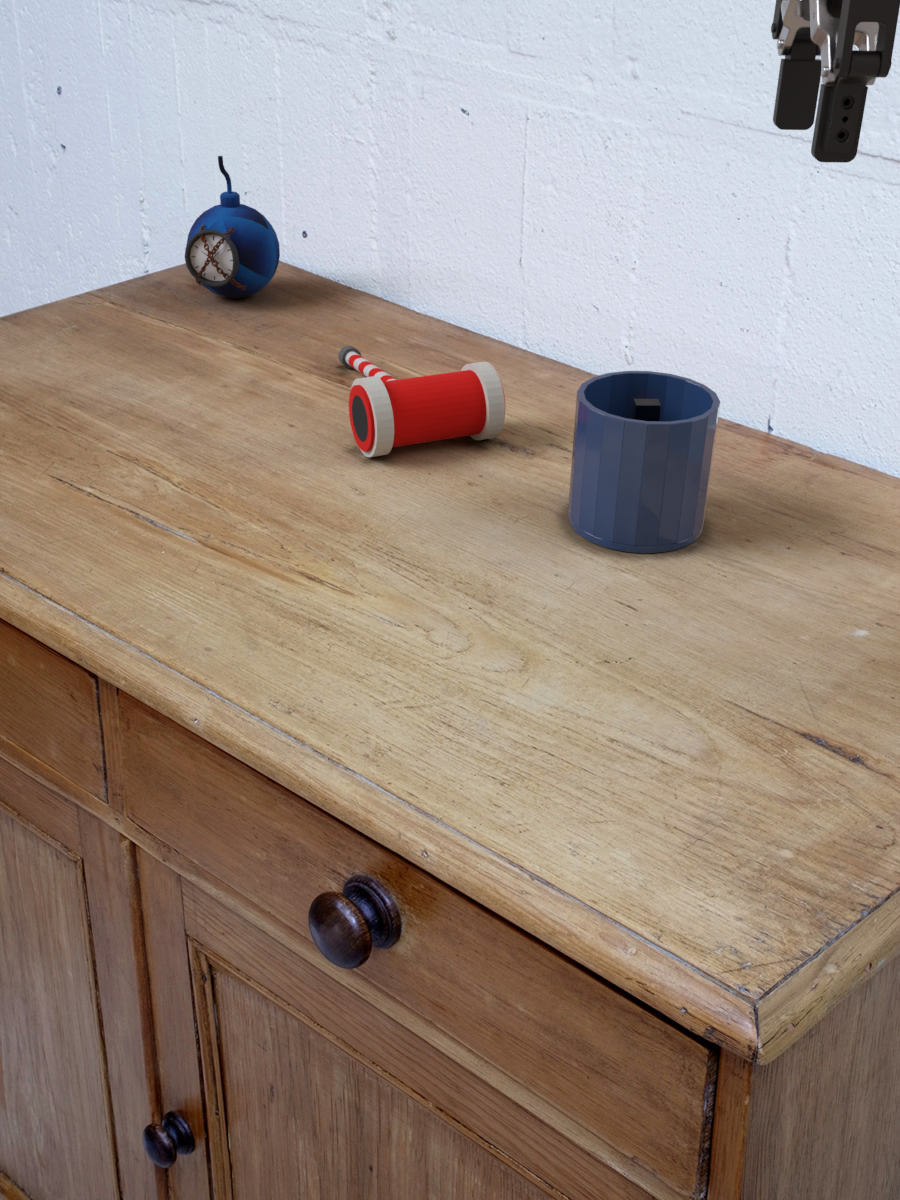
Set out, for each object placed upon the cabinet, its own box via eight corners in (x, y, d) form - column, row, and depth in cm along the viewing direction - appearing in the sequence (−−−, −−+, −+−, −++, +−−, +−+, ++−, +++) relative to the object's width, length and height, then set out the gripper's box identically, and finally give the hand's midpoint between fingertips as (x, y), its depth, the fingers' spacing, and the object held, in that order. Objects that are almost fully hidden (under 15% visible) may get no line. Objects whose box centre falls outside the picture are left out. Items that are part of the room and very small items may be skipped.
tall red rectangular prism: (653, 509, 99) (666, 397, 94) (657, 519, 97) (670, 406, 93) (614, 509, 99) (624, 397, 94) (616, 519, 97) (627, 405, 93)
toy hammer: (287, 373, 123) (284, 306, 120) (404, 358, 127) (404, 293, 124) (374, 470, 105) (373, 395, 102) (506, 449, 109) (510, 376, 106)
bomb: (170, 307, 138) (157, 161, 131) (213, 278, 147) (203, 139, 140) (257, 317, 136) (248, 169, 129) (294, 287, 145) (289, 146, 138)
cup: (689, 492, 103) (704, 371, 98) (714, 554, 94) (732, 424, 89) (562, 491, 102) (570, 369, 97) (575, 553, 94) (586, 423, 89)
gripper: (995, -204, 58) (921, 175, 66) (894, -199, 70) (842, 119, 78) (826, -207, 57) (773, 173, 66) (754, -202, 70) (717, 118, 78)
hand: (811, 143), depth 72 cm, fingers open, 8 cm apart
